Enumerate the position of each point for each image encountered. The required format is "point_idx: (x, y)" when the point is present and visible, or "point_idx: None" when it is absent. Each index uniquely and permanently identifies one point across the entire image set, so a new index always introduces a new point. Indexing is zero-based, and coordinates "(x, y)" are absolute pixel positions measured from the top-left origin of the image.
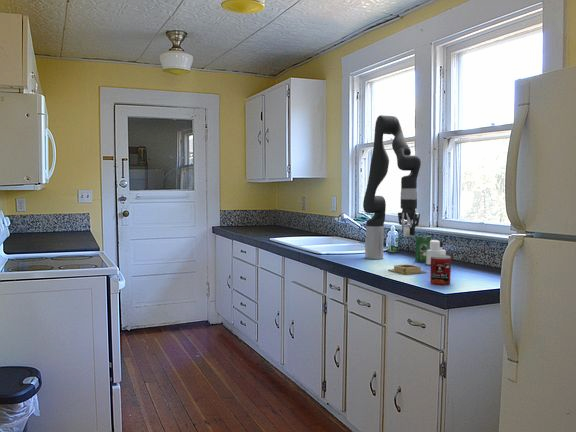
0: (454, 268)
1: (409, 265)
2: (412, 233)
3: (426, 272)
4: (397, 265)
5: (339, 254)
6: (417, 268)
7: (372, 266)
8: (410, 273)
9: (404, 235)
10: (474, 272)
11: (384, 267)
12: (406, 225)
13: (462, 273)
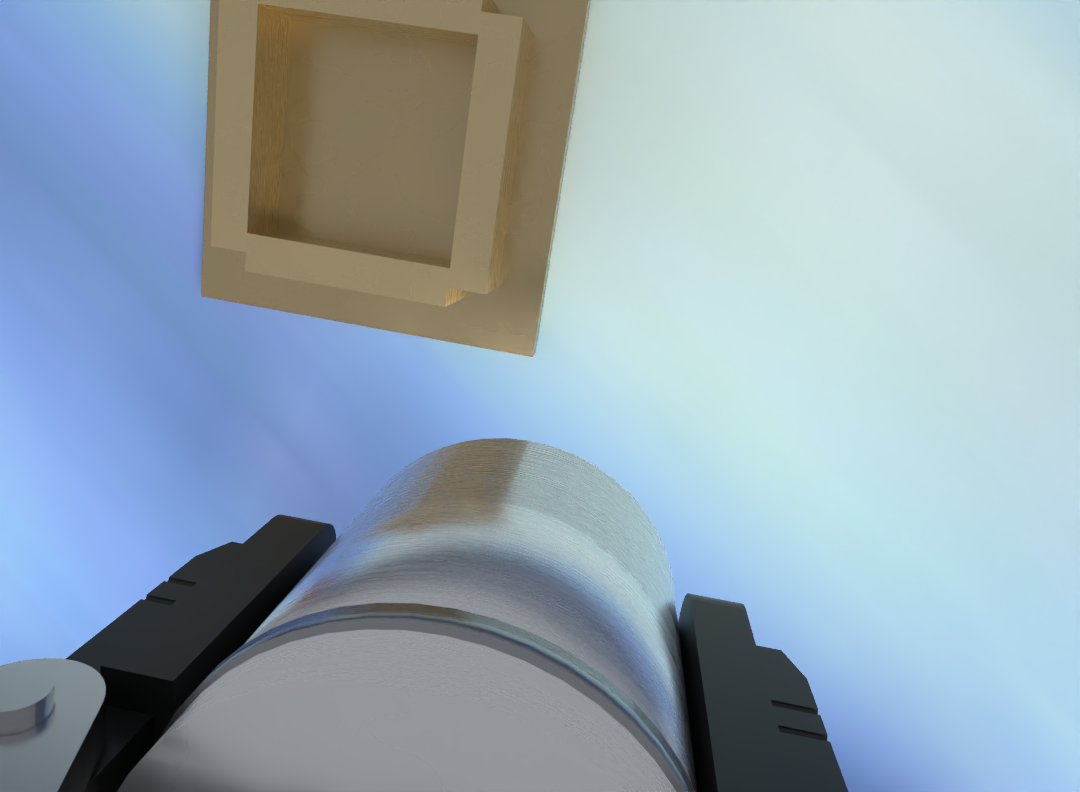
0: None
1: (435, 263)
2: (203, 556)
3: (206, 292)
4: (481, 52)
5: None
6: (221, 188)
7: (1065, 51)
8: (214, 29)
9: (515, 449)
10: None
11: (859, 153)
12: (267, 676)
13: (44, 596)
